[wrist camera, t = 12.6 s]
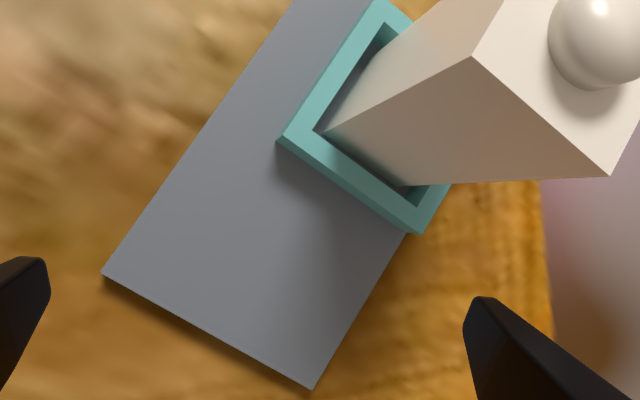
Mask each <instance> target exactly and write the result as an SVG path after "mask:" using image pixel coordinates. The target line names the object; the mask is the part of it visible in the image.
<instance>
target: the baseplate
mask: <svg viewBox="0 0 640 400" xmlns="http://www.w3.org/2000/svg"><path fill="white" fill-rule="evenodd" d="M413 23H414V22H412V21H411V20H410V19H409V18H408V17H407V16H406V15H404V14H403V13H402V12H401V11H400V10H399V9H398V8H396V7H395V6H394V5H393V4H392V3H391V2H390V1H388V0H372V1H371V0H293V2H292V3H291V5H290V6H289V7H288V9H287V10H286V12H285V13H284V14H283V16H282V17H281V19H280V20H279V21H278V23H277V24H276V26H275V27H274V28H273V30H272V31H271V33H270V34H269V35H268V37H267V38H266V40H265V41H264V43H263V44H262V45H261V47H260V48H259V50H258V51H257V52H256V54H255V55H254V57H253V58H252V59H251V61H250V62H249V64H248V65H247V66H246V68H245V69H244V71H243V72H242V73H241V75H240V76H239V78H238V79H237V80H236V82H235V83H234V85H233V86H232V87H231V89H230V90H229V92H228V93H227V94H226V96H225V97H224V99H223V100H222V101H221V103H220V104H219V106H218V107H217V108H216V110H215V111H214V113H213V114H212V115H211V117H210V118H209V120H208V121H207V122H206V124H205V125H204V127H203V128H202V130H201V131H200V132H199V134H198V135H197V137H196V138H195V139H194V141H193V142H192V144H191V145H190V146H189V148H188V149H187V151H186V152H185V153H184V155H183V156H182V158H181V159H180V160H179V162H178V163H177V165H176V166H175V167H174V169H173V170H172V172H171V173H170V174H169V176H168V177H167V179H166V180H165V181H164V183H163V184H162V186H161V187H160V188H159V190H158V191H157V193H156V194H155V195H154V197H153V198H152V200H151V201H150V202H149V204H148V205H147V207H146V208H145V209H144V211H143V212H142V214H141V215H140V217H139V218H138V219H137V221H136V222H135V224H134V225H133V226H132V228H131V229H130V231H129V232H128V233H127V235H126V236H125V238H124V239H123V240H122V242H121V243H120V245H119V246H118V247H117V249H116V250H115V252H114V253H113V254H112V256H111V257H110V259H109V260H108V261H107V263H106V264H105V266H104V267H103V268H102V270H101V271H100V273H101V274H103V275H105V276H107V277H109V278H110V279H112V280H114V281H116V282H118V283H119V284H121V285H123V286H125V287H126V288H128V289H130V290H132V291H134V292H135V293H137V294H139V295H141V296H143V297H144V298H146V299H148V300H150V301H152V302H153V303H155V304H157V305H159V306H161V307H162V308H164V309H166V310H168V311H170V312H171V313H173V314H175V315H177V316H179V317H180V318H182V319H184V320H186V321H188V322H189V323H191V324H193V325H195V326H197V327H198V328H200V329H202V330H204V331H206V332H207V333H209V334H211V335H213V336H215V337H216V338H218V339H220V340H222V341H224V342H225V343H227V344H229V345H231V346H233V347H234V348H236V349H238V350H240V351H242V352H243V353H245V354H247V355H249V356H251V357H252V358H254V359H256V360H258V361H260V362H261V363H263V364H265V365H267V366H269V367H270V368H272V369H274V370H276V371H277V372H279V373H281V374H283V375H285V376H286V377H288V378H290V379H292V380H294V381H295V382H297V383H299V384H301V385H303V386H304V387H306V388H308V389H310V390H313V388H314V386H315V385H316V383H317V381H318V380H319V378H320V376H321V375H322V373H323V371H324V370H325V368H326V366H327V365H328V363H329V361H330V360H331V358H332V356H333V355H334V353H335V351H336V350H337V348H338V346H339V345H340V343H341V341H342V340H343V338H344V336H345V335H346V333H347V331H348V330H349V328H350V326H351V325H352V323H353V321H354V320H355V318H356V316H357V315H358V313H359V311H360V310H361V308H362V306H363V305H364V303H365V301H366V300H367V298H368V296H369V295H370V293H371V291H372V290H373V288H374V286H375V285H376V283H377V281H378V280H379V278H380V276H381V275H382V273H383V271H384V270H385V268H386V266H387V265H388V263H389V261H390V260H391V258H392V256H393V255H394V253H395V251H396V250H397V248H398V246H399V245H400V243H401V241H402V240H403V238H404V236H405V235H406V233H407V232H408V233H413V234H419V235H422V234H423V232H424V230H425V229H426V227H427V225H428V224H429V222H430V220H431V219H432V217H433V215H434V213H435V212H436V210H437V208H438V207H439V205H440V203H441V202H442V200H443V198H444V197H445V195H446V193H447V192H448V190H449V188H450V186H451V185H452V184H436V185H415V186H394V185H393V184H391V183H390V182H388V181H387V180H386V179H384V178H383V177H382V176H380V175H379V174H377V173H376V172H375V171H373V170H372V169H370V168H369V167H368V166H366V165H365V164H364V163H362V162H361V161H359V160H358V159H357V158H355V157H354V156H353V155H351V154H350V153H348V152H347V151H346V150H344V149H343V148H342V147H340V146H339V145H337V144H336V143H335V142H333V141H332V140H331V139H329V138H328V137H326V136H325V135H324V134H322V133H323V131H324V130H325V128H326V127H327V125H328V123H329V122H330V120H331V119H332V117H333V116H334V114H335V113H336V111H337V110H338V108H339V106H340V105H341V103H342V102H343V100H344V99H345V97H346V96H347V94H348V93H349V91H350V89H351V88H352V86H353V85H354V83H355V82H356V80H357V79H358V77H359V75H360V74H361V72H362V71H363V69H364V68H365V66H366V65H367V63H368V62H369V60H370V58H371V57H372V56H374V55H375V54H376V53H377V52H379V51H380V50H381V49H382V48H383V47H385V46H386V45H387V44H388V43H389V42H391V41H392V40H393V39H394V38H396V37H397V36H398V35H399V34H400V33H402V32H403V31H404V30H405V29H407V28H408V27H409V26H410V25H411V24H413Z"/></svg>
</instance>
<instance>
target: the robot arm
mask: <svg viewBox="0 0 640 400" xmlns="http://www.w3.org/2000/svg"><path fill="white" fill-rule="evenodd" d="M50 297H51V287H50V282H49V277H48V272H47V267H46V263H45V261H44V260H43V259H42V258H39V257H28V256H19V257H16V258H13V259H11V260H9V261H6V262H4V263H2V264H0V391H1V390H2V388H3V386H4V385H5V383H6V382H7V380H8V379H9V377H10V375H11V374H12V372H13V370H14V369H15V367H16V365H17V363H18V361H19V360H20V358H21V356H22V354H23V352H24V350H25V348H26V346H27V344H28V342H29V340H30V338H31V336H32V334H33V332H34V330H35V328H36V326H37V324H38V322H39V320H40V318H41V316H42V315H43V313H44V311H45V309H46V307H47V305H48V303H49V300H50ZM463 338H464V342H465V346H466V351H467V355H468V360H469V364H470V369H471V373H472V377H473V382H474V386H475V390H476V394H477V398H478V400H632V399H630V398H629V397H628V396H626V395H625V394H624V393H622V392H621V391H619V390H618V389H617V388H615V387H614V386H613V385H611V384H610V383H608V382H607V381H606V380H605V379H603V378H602V377H601V376H599V375H598V374H597V373H595V372H594V371H593V370H591V369H590V368H589V367H587V366H586V365H585V364H583V363H582V362H580V361H579V360H578V359H576V358H575V357H574V356H572V355H571V354H570V353H568V352H567V351H566V350H564V349H563V348H562V347H560V346H559V345H558V344H556V343H555V342H554V341H552V340H551V339H549V338H548V337H547V336H545V335H544V334H543V333H541V332H540V331H539V330H537V329H536V328H535V327H533V326H532V325H531V324H529V323H528V322H527V321H525V320H524V319H522V318H521V317H520V316H518V315H517V314H516V313H514V312H513V311H512V310H510V309H509V308H508V307H506V306H505V305H504V304H502V303H501V302H500V301H498V300H497V299H495V298H493V297H483V296H477V297H475V298H474V299H473V300H472V302H471V305H470V308H469V310H468V313H467V315H466V318H465V320H464V323H463Z"/></svg>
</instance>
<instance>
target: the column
mask: <svg viewBox="0 0 640 400" xmlns="http://www.w3.org/2000/svg"><path fill="white" fill-rule="evenodd" d="M639 119H640V0H441V1H439V2H438V3H437V4H436V5H435V6H433V7H432V8H431V9H430V10H428V11H427V12H426V13H425V14H424V15H422V16H421V17H420V18H419V19H418V20H416V21H415V22H414V23H413V24H411V25H410V26H409V27H408V28H407V29H405V30H404V31H403V32H402V33H400V34H399V35H398V36H397V37H396V38H394V39H393V40H392V41H391V42H389V43H388V44H387V45H386V46H385V47H383V48H382V49H381V50H380V51H379V52H377V53H376V54H375V55H374V56H372V57H371V58H370V60H369V62H368V63H367V65H366V66H365V68H364V69H363V71H362V72H361V74H360V75H359V77H358V79H357V80H356V82H355V83H354V85H353V86H352V88H351V89H350V91H349V93H348V94H347V96H346V97H345V99H344V100H343V102H342V103H341V105H340V106H339V108H338V110H337V111H336V113H335V114H334V116H333V117H332V119H331V120H330V122H329V123H328V125H327V127H326V128H325V130H324V131H323V133H322V134H324V135H325V136H326V137H328V138H329V139H331V140H332V141H333V142H335V143H336V144H337V145H339V146H340V147H342V148H343V149H344V150H346V151H347V152H348V153H350V154H351V155H353V156H354V157H355V158H357V159H358V160H359V161H361V162H362V163H364V164H365V165H366V166H368V167H369V168H370V169H372V170H373V171H375V172H376V173H377V174H379V175H380V176H382V177H383V178H384V179H386V180H387V181H388V182H390V183H391V184H393V185H394V186H415V185H436V184H458V183H479V182H500V181H522V180H543V179H562V178H563V179H564V178H585V177H607V176H610V175H611V173H612V172H613V169H614V167H615V166H616V164H617V162H618V160H619V158H620V156H621V154H622V152H623V150H624V148H625V147H626V145H627V143H628V141H629V138H630V137H631V135H632V133H633V131H634V129H635V127H636V125H637V123H638V121H639Z"/></svg>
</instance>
